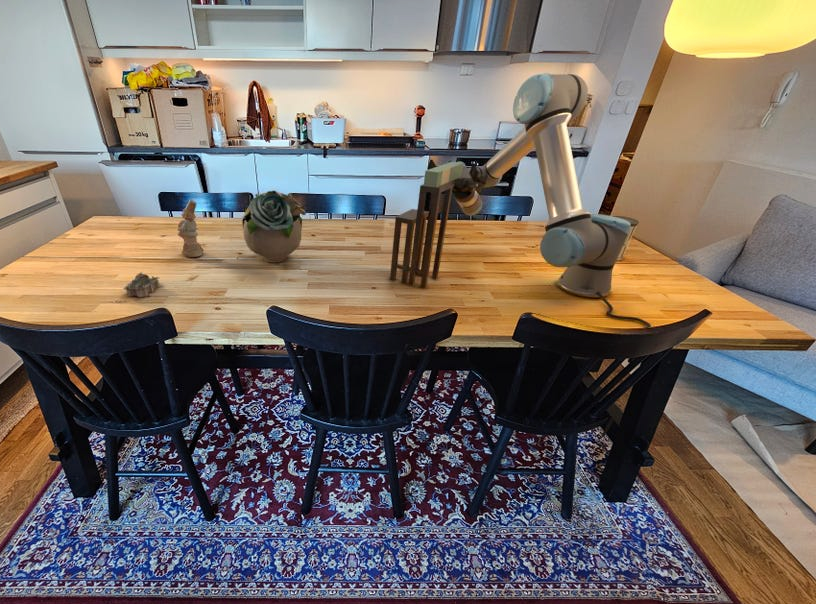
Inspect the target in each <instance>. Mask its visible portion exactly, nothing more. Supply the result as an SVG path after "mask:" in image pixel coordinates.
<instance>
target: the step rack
mask: <svg viewBox="0 0 816 604" xmlns="http://www.w3.org/2000/svg"><path fill="white" fill-rule="evenodd" d="M454 184H455V181H450V182H448V183H446V184H443V185H441V186H439V187H429V186H424V183H423V184H421V185H419V193H418V201H417V209H416V208H411V209H409V210H406V211H404V212H403V213H400V214H399V215H397V216H395V220H394V231H393V240H392V252H391V263H390V275H389V280H390V281H395V280H396V279H397V274H398V273H397V271H398V269H399V270H401V271H402V273H401V284H405V285H406V284H407V283H408V285H409V286H414V285H415V284H416V276H417V275H419V276H421V281H420V287H419V288H421V289H426V288H427V287H428V281H429V273H430V269H431V268H430V267H431V261H432V254H433V248H434V241H435V235H436V227H437V221H438V215H439V207H440V201H441V195H442V193H444V196H443V203H442V210H441V217H440V223H439V230H438V234H437V243H436V248H435V255H434V262H433V268H432V272H431V273H432V274H431V279H432V280H437V279H438V277H439V271H440V267H441V260H442V254H443V248H444V242H445V235H446V230H447V224H448V218H449V212H450V205H451V199H452V188H453V187H454ZM427 193H430V200H429V206H428V211H427V210H425V209H426V208H425V207H426V198H427ZM402 224H406V231H405V232H406V233H405V242H404V251H403V259H402V264H399V263H398V262H399V253H400V245H401V233H402Z"/></svg>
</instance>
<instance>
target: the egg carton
mask: <svg viewBox="0 0 816 604" xmlns="http://www.w3.org/2000/svg"><path fill="white" fill-rule="evenodd" d="M134 277H135V278H134V279H132V280H131V281H130V282H129V283H127V284H126V286H125V287H123V288H122V289H123V290H125V291H126V294H127V297H130V298H132V297H135V296H136V297H137V298H143V297H145V298H146V297H149V293H153V292H155V289H159V288H160V287H161V284H160V282H159V277H158V276H153V275H152V276H151V277H150V276H149V275H148V274H146V273H143V272H142V271H141V272H139V273H138V274H136V276H134Z"/></svg>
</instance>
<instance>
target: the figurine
mask: <svg viewBox="0 0 816 604" xmlns="http://www.w3.org/2000/svg"><path fill="white" fill-rule="evenodd" d="M196 208H197V202H196V201H195V200H193V199H189V201H188V202H187V204H186V207H185V208H183V210H182V213H181V217H182V219H183V220H181V221H179V223H178V225H177V232H178V233H177V236H178V237H180V238H181V239H182V240H183V245H182V250H181V254H182V255H184V256H185V257H189V258H194V257H201V256H202V255H203V254H204V253H203V252H204V249H203V247H202V245H201V244H200V242H198V239H197V237H198V235H199V233H198V231H197V221H196V220H195V219H196V218H197V215H196V214H195V211H196Z"/></svg>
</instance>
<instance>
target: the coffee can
mask: <svg viewBox="0 0 816 604" xmlns="http://www.w3.org/2000/svg"><path fill="white" fill-rule="evenodd" d="M611 216H612V217H617V218H621V219H624V220H626V221H628V222H629V223H630V224H631V227H630V230H629V232H628V236H627V238H626V240H625V242H624V244H623V247H622V249H621V251H620V253H619V256H618V258H617V260H616V261H622V260H623V259H624V256H625V253H626V252H627V250H628V247H629V245H630V243H631V240H632V238H633V235H634V233H635V231H636V229H637V226H638V225H639V223H640V221H639V220H638V219H636V218H633V217H628V216H621V215H611Z"/></svg>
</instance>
